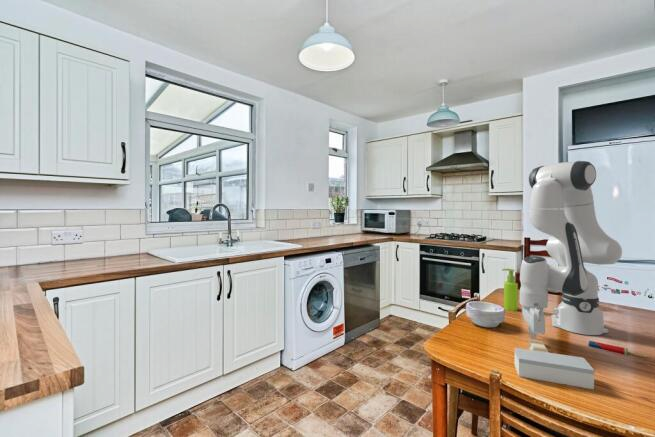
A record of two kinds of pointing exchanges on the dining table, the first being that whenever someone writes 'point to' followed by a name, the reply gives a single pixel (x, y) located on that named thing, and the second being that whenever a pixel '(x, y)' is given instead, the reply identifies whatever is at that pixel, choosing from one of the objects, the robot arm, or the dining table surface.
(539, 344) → the slat
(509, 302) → the soap dispenser
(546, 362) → the end cap
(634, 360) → the dining table surface
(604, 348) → the popsicle
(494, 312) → the paper bowls
